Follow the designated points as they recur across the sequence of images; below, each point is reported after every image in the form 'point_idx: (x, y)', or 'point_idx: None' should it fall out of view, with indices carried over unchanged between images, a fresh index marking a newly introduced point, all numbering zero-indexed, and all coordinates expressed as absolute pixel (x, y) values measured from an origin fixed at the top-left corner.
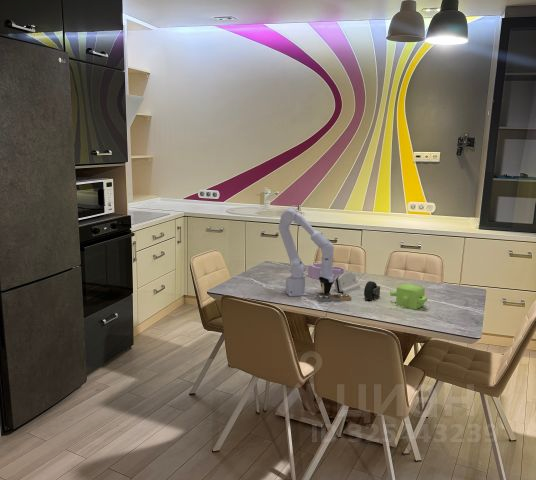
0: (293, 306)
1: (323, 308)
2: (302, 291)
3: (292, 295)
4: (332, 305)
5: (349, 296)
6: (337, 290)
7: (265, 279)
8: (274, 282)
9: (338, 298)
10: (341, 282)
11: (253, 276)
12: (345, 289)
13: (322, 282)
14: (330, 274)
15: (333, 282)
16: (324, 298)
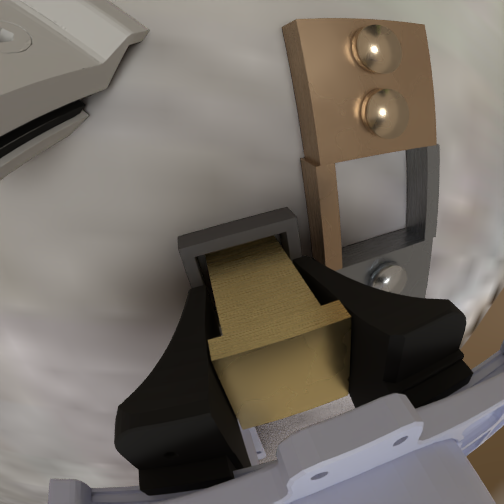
0: None
1: (486, 281)
2: (245, 440)
3: (263, 449)
4: (471, 226)
5: (394, 27)
6: (75, 121)
7: (15, 489)
8: (33, 481)
9: (438, 170)
10: (4, 63)
11: (8, 500)
12: (80, 7)
13: (260, 418)
14: (472, 468)
15: (449, 305)
16: (416, 294)
